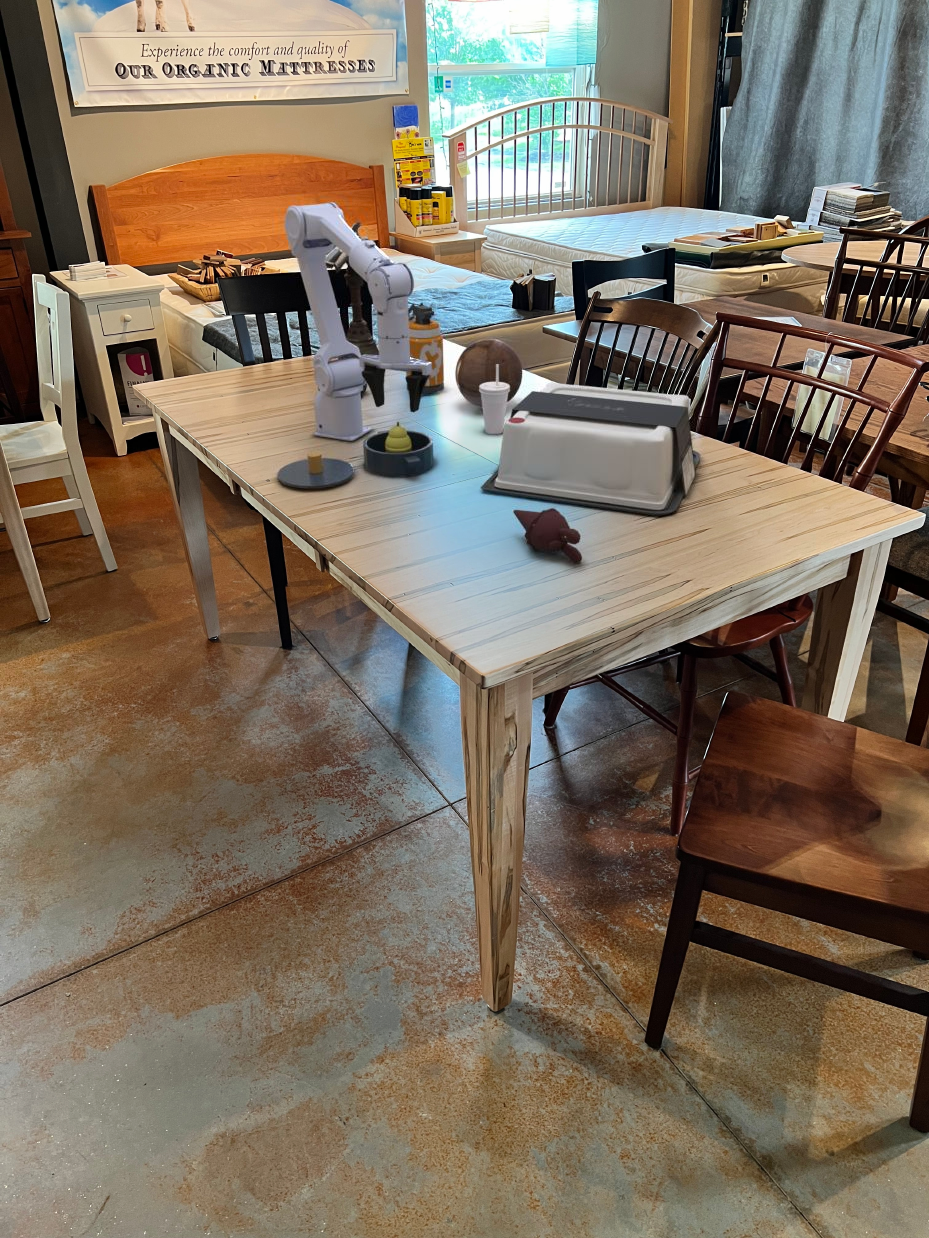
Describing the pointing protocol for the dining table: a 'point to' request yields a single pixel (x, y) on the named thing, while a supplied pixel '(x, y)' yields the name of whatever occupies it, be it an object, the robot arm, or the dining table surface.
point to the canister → (427, 345)
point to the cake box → (598, 449)
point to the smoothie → (494, 404)
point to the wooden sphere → (487, 368)
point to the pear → (398, 440)
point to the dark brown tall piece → (354, 300)
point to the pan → (398, 455)
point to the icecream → (549, 532)
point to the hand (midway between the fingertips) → (397, 408)
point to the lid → (315, 472)
